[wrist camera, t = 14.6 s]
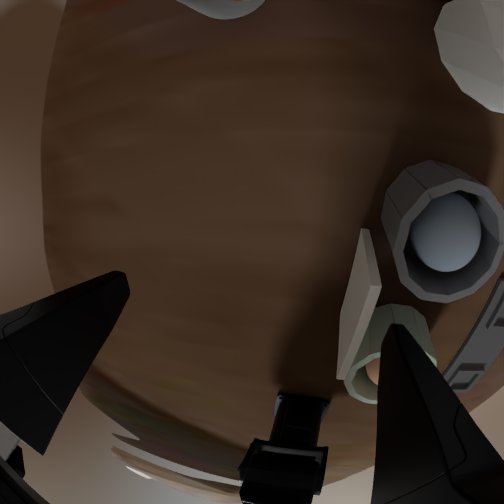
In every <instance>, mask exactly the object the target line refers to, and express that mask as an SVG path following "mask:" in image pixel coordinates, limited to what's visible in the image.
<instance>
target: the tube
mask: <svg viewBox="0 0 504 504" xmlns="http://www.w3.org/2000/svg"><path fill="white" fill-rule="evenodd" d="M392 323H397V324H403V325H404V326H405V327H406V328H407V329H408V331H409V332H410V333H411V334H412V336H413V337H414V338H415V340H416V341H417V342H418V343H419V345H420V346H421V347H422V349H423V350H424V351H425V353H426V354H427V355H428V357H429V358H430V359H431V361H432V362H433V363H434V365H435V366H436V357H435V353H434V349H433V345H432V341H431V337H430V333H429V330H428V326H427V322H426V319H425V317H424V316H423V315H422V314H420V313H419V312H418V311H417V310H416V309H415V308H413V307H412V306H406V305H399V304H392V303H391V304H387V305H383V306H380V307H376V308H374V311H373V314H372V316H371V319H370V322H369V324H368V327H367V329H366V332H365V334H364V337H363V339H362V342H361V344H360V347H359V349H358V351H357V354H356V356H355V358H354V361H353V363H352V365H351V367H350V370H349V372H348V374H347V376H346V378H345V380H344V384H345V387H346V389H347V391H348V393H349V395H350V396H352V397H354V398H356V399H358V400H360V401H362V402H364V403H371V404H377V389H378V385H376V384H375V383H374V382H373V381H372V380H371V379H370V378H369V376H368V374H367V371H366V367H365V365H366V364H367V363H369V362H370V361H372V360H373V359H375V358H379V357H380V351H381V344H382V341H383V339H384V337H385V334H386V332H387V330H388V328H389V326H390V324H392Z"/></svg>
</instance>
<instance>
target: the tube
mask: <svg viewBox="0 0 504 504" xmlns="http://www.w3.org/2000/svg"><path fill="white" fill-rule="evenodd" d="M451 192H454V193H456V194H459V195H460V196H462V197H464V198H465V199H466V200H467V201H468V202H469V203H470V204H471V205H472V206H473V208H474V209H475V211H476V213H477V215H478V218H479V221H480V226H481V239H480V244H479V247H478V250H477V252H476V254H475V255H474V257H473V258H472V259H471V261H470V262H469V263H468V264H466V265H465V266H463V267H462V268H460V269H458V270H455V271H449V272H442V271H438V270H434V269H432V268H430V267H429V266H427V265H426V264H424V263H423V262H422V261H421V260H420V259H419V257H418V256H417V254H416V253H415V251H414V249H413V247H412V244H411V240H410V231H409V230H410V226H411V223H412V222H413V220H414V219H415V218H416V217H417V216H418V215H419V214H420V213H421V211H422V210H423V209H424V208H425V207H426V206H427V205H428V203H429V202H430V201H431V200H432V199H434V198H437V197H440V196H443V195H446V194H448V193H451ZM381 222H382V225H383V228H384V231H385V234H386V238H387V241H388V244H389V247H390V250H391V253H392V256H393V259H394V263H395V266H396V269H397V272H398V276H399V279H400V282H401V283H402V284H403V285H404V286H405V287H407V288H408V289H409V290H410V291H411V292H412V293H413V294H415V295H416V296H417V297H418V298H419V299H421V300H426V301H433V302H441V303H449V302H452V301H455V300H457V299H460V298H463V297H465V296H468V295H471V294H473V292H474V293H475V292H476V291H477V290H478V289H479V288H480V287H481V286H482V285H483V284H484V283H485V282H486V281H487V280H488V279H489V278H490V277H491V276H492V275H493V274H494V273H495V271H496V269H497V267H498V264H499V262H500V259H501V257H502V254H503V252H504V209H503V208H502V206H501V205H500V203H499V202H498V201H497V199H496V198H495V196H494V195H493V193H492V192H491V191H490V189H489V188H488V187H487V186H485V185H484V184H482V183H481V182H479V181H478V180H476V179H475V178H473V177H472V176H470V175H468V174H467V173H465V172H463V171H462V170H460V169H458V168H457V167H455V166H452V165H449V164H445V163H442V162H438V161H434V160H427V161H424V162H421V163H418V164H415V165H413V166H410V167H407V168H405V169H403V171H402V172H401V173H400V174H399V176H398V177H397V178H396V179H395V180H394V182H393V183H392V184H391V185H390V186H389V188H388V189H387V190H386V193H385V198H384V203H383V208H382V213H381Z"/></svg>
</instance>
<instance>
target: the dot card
mask: <svg viewBox="0 0 504 504" xmlns="http://www.w3.org/2000/svg"><path fill="white" fill-rule="evenodd" d="M381 288H382V285H381V280H380V275H379V270H378V265H377V261H376V256H375V252H374V247H373V243H372V239H371V235H370V231H369V229H364V228H361V231H360V236H359V241H358V245H357V250H356V254H355V258H354V262H353V267H352V271H351V275H350V279H349V283H348V286H347V290H346V294H345V298H344V301H343V305H342V308H341V312H340V328H339V348H338V363H337V375H336V379H339V380H345V378H346V376H347V374H348V372H349V370H350V367H351V365H352V363H353V361H354V358H355V356H356V354H357V351H358V349H359V347H360V344H361V342H362V339H363V337H364V334H365V332H366V329H367V327H368V324H369V322H370V319H371V316H372V314H373V311H374V308H375V305H376V302H377V300H378V297H379V294H380V291H381Z"/></svg>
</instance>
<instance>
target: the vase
mask: <svg viewBox="0 0 504 504" xmlns="http://www.w3.org/2000/svg"><path fill="white" fill-rule="evenodd" d="M434 32H435V36H436V40H437V44H438V48H439V53H440V58H441V61H442V63H443V64H444V66H445V67H446V68H447V70H448V71H449V73H450V74H451V76H452V77H453V78H454V80H455V82H456V83H457V85H458V86H459V88H460V89H461V91H462V92H464V93H465V94H467V95H468V96H470V97H471V98H473V99H474V100H476V101H477V102H479V103H480V104H482V105H483V106H484V107H486V108H487V109H489V110H491V111H495V112H500V113H504V0H453V1H451V2H448V3H446V4H444V6H443V8H442V10H441V12H440V15H439V17H438V20H437V22H436V24H435V27H434Z"/></svg>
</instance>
